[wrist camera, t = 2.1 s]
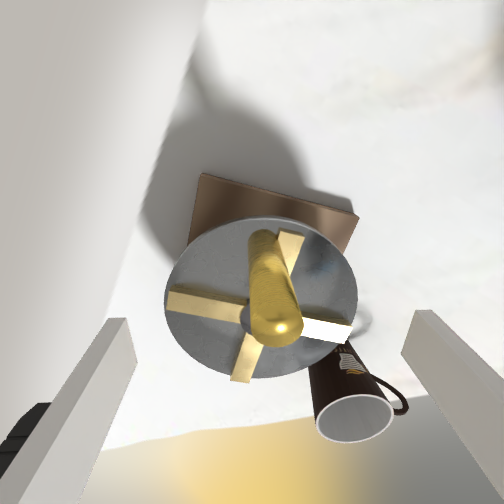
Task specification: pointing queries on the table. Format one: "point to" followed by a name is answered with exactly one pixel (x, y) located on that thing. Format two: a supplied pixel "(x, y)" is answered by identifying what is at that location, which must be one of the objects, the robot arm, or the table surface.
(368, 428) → the coffee mug
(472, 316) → the table surface
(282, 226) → the handwheel
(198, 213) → the wheel stand
